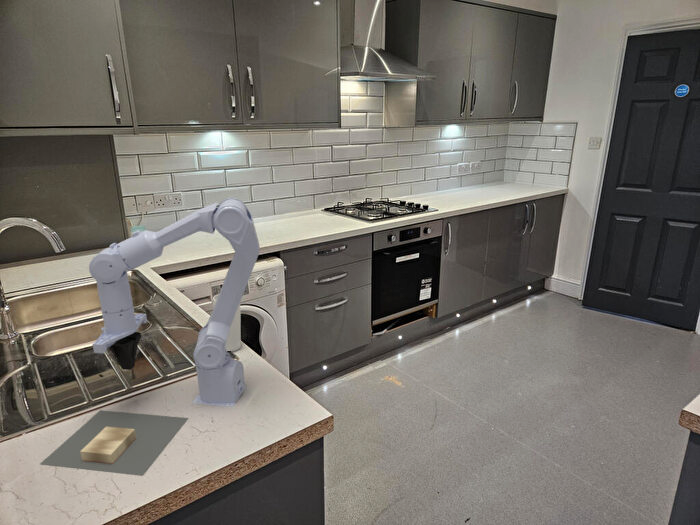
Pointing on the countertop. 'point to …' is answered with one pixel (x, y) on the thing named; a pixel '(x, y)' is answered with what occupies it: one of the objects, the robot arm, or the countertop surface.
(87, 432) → the mat
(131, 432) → the tile
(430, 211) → the countertop surface
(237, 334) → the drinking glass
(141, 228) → the can
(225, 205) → the robot arm
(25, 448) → the countertop surface
